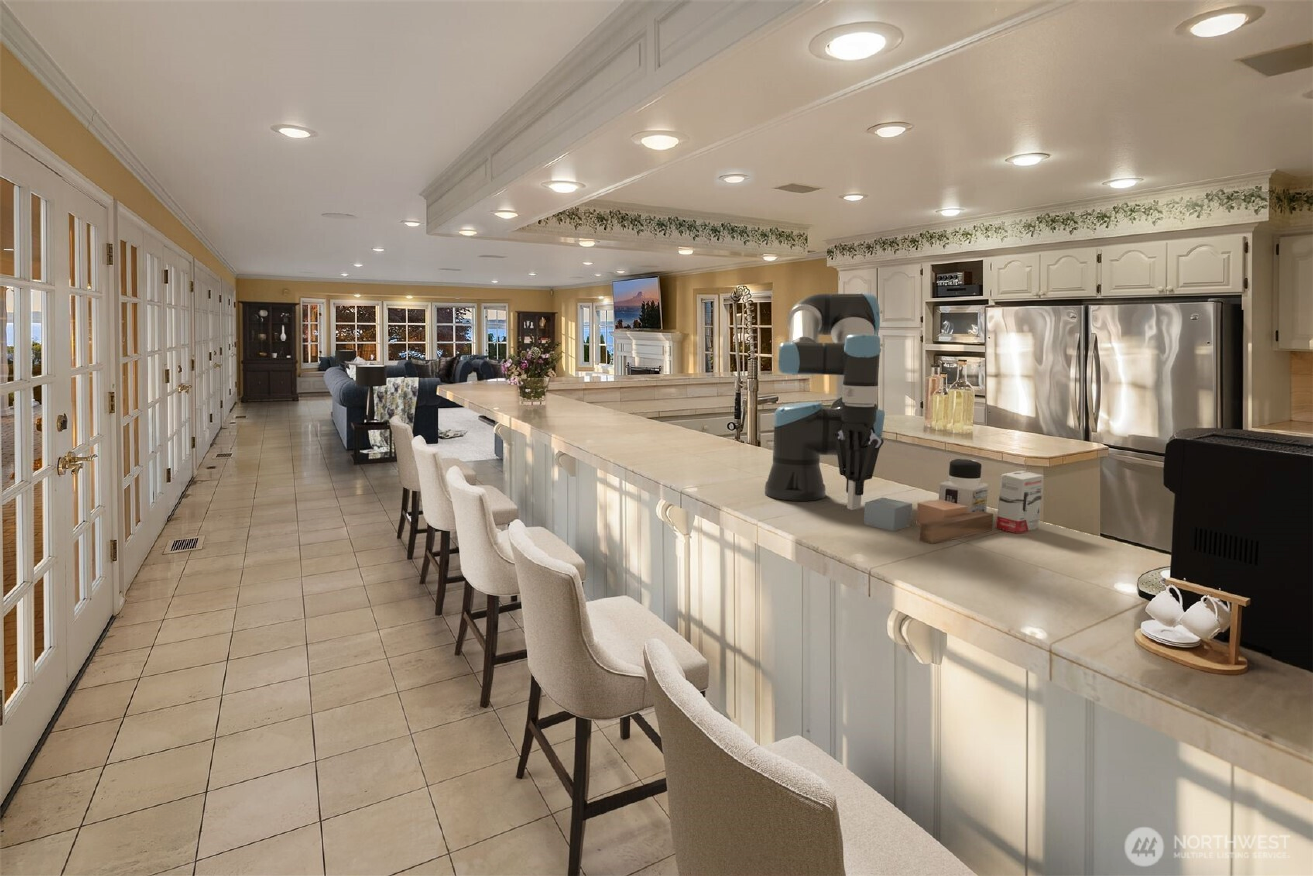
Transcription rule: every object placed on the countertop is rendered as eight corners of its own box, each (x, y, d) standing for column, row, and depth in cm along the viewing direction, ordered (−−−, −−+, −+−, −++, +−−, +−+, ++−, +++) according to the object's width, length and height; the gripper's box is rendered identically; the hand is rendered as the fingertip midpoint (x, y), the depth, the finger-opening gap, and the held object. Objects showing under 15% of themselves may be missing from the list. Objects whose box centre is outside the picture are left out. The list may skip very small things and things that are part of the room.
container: (970, 523, 154) (975, 464, 152) (936, 516, 159) (940, 459, 157) (986, 517, 159) (990, 460, 157) (952, 510, 164) (957, 455, 162)
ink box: (1017, 534, 146) (1022, 478, 144) (995, 528, 150) (999, 474, 148) (1039, 528, 150) (1045, 473, 148) (1017, 522, 154) (1022, 469, 153)
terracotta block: (916, 525, 152) (917, 502, 152) (938, 521, 156) (940, 499, 155) (942, 533, 146) (944, 510, 145) (965, 529, 149) (967, 506, 149)
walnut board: (919, 539, 141) (920, 522, 140) (978, 526, 151) (980, 510, 150) (932, 543, 138) (933, 526, 138) (991, 529, 148) (993, 513, 148)
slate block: (863, 524, 152) (865, 502, 151) (881, 519, 157) (882, 497, 156) (893, 531, 147) (894, 508, 146) (910, 526, 152) (912, 503, 151)
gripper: (825, 402, 160) (821, 504, 163) (870, 408, 149) (864, 516, 152) (849, 401, 163) (844, 500, 167) (894, 406, 152) (888, 512, 156)
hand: (853, 508), depth 159 cm, fingers closed
